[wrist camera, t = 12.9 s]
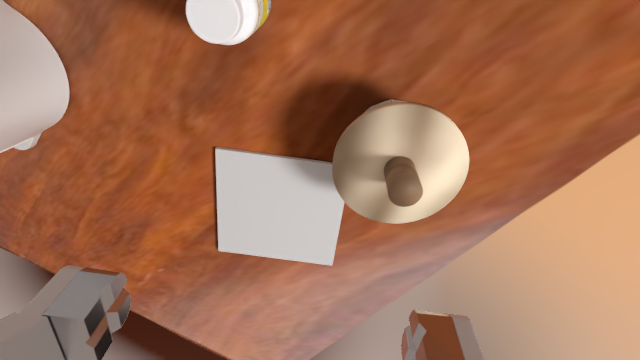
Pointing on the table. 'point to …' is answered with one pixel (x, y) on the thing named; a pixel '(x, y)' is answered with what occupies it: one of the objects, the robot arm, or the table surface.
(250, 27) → the supplement bottle
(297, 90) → the table surface
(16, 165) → the table surface
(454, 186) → the lid
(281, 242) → the mat
